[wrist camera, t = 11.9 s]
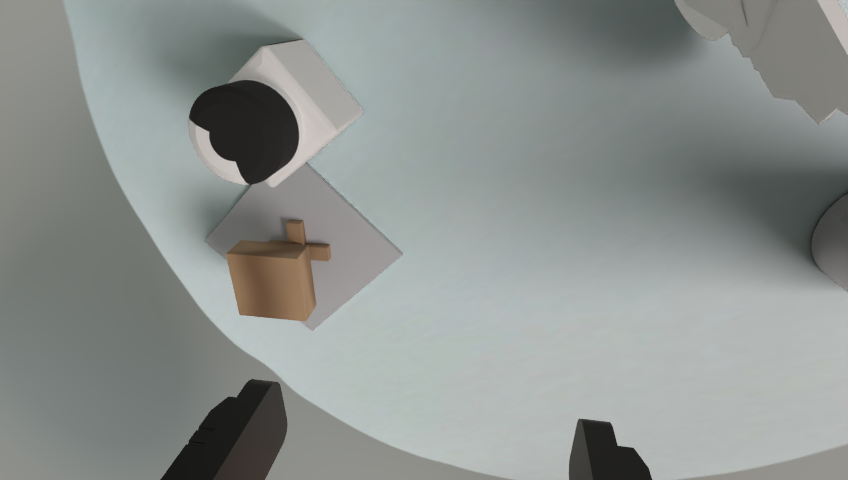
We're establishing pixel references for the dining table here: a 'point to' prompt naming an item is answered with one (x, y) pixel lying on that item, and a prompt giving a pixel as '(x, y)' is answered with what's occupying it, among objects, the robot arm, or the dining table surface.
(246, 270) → the wooden pedestal stool
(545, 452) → the dining table surface
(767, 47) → the spiral staircase
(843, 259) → the robot arm
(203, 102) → the blocky figurine
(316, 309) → the mat
